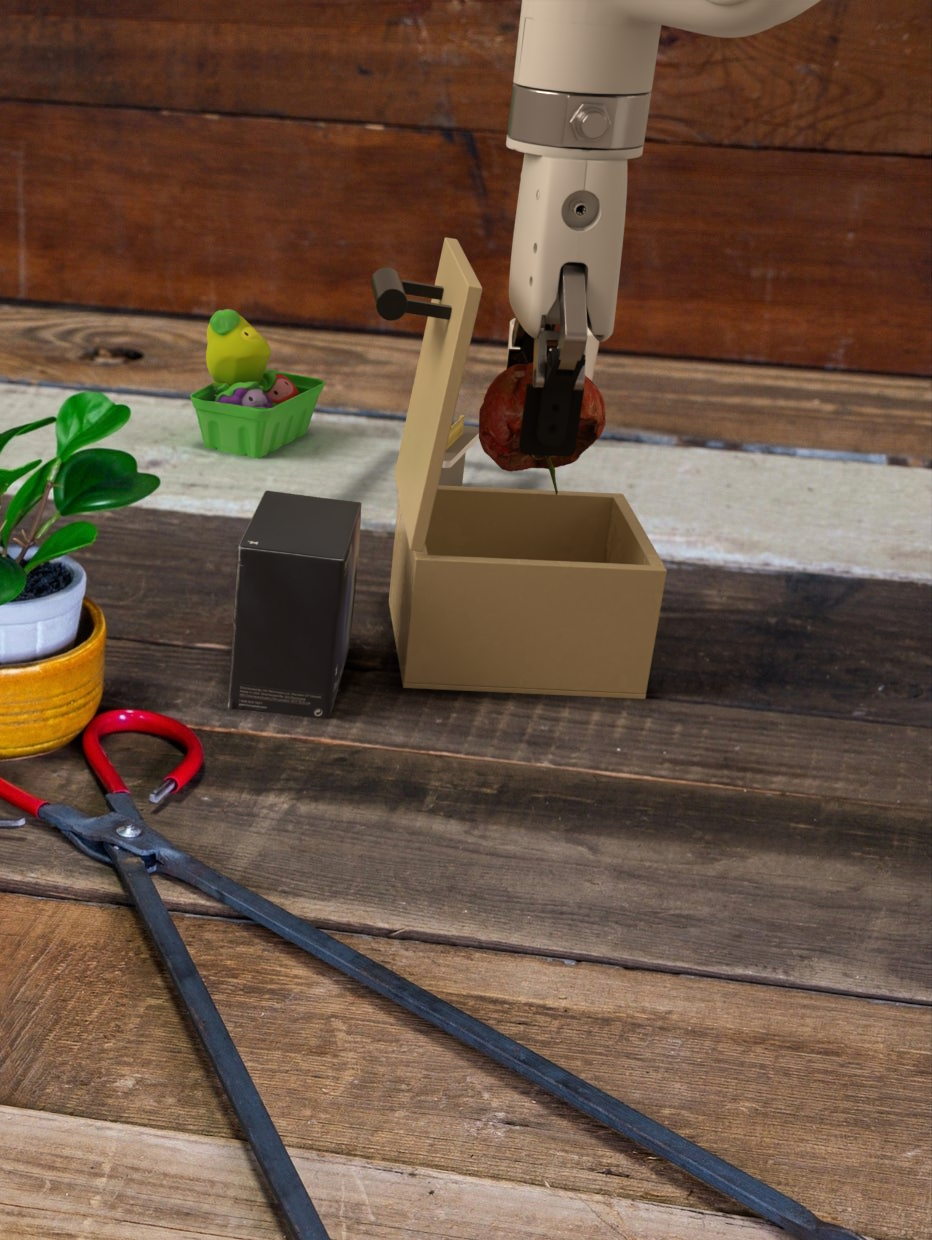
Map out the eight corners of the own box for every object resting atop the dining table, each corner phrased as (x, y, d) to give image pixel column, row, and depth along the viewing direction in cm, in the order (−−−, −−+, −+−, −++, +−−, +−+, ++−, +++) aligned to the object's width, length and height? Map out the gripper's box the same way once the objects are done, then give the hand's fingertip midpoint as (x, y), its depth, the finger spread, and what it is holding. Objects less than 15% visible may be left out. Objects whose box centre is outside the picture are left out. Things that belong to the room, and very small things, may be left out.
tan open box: (604, 617, 113) (623, 493, 110) (644, 706, 101) (667, 570, 97) (388, 607, 114) (399, 483, 110) (402, 695, 102) (415, 558, 98)
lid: (457, 239, 103) (375, 225, 102) (482, 287, 90) (389, 272, 90) (405, 477, 110) (328, 465, 109) (423, 552, 97) (336, 539, 97)
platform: (328, 524, 128) (334, 440, 125) (398, 459, 143) (405, 383, 140) (481, 550, 124) (491, 465, 121) (537, 481, 139) (547, 404, 136)
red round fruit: (608, 520, 101) (584, 384, 105) (627, 451, 95) (601, 309, 99) (484, 529, 101) (465, 394, 106) (495, 461, 95) (474, 319, 99)
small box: (335, 728, 97) (348, 558, 92) (224, 716, 98) (231, 547, 93) (353, 654, 106) (366, 497, 102) (251, 644, 107) (260, 487, 103)
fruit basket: (263, 470, 139) (271, 334, 134) (172, 451, 143) (175, 318, 138) (325, 437, 148) (334, 308, 143) (237, 419, 152) (242, 293, 146)
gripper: (679, 149, 85) (626, 483, 93) (616, 106, 101) (575, 396, 109) (531, 142, 85) (491, 477, 93) (490, 100, 101) (459, 391, 109)
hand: (536, 431), depth 101 cm, fingers closed on red round fruit, 7 cm apart
